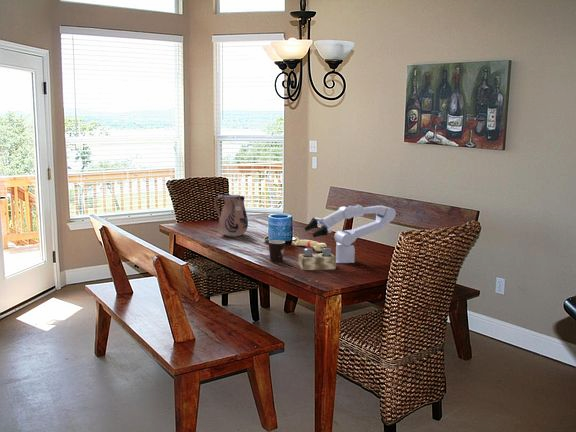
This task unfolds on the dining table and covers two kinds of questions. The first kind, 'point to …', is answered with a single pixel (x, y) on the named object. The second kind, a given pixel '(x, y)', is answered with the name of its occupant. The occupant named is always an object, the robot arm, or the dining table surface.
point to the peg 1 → (308, 252)
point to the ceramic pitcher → (232, 215)
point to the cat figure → (309, 243)
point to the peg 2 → (326, 252)
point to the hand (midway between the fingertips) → (309, 232)
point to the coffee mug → (276, 250)
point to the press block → (317, 262)
